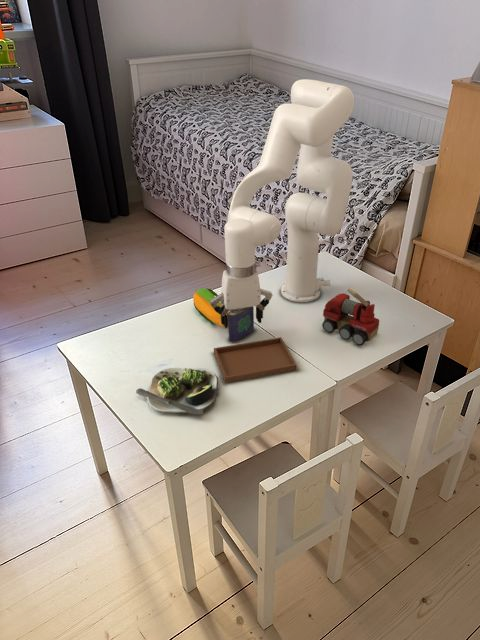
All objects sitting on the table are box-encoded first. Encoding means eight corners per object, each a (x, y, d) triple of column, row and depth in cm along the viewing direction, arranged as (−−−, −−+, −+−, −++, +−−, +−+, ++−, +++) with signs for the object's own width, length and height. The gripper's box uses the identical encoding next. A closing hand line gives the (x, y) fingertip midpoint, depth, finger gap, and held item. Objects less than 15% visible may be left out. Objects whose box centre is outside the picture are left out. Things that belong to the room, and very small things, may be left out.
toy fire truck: (335, 317, 162) (340, 263, 151) (380, 336, 155) (389, 281, 144) (313, 333, 155) (317, 278, 144) (359, 354, 148) (367, 298, 137)
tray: (281, 342, 151) (281, 337, 150) (296, 370, 142) (296, 364, 141) (213, 353, 146) (213, 348, 145) (225, 383, 137) (224, 377, 136)
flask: (249, 327, 157) (249, 294, 150) (257, 331, 155) (256, 298, 148) (226, 340, 151) (224, 307, 144) (233, 344, 150) (232, 311, 143)
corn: (207, 278, 162) (241, 308, 150) (210, 299, 167) (243, 331, 155) (185, 286, 159) (217, 317, 147) (189, 307, 164) (220, 340, 152)
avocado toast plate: (130, 419, 125) (127, 404, 123) (144, 371, 139) (142, 357, 136) (213, 420, 126) (212, 405, 123) (219, 372, 140) (218, 358, 137)
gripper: (268, 257, 145) (267, 311, 156) (204, 265, 140) (208, 320, 151) (276, 270, 139) (275, 325, 150) (210, 279, 135) (214, 335, 146)
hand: (242, 323), depth 151 cm, fingers open, 9 cm apart
